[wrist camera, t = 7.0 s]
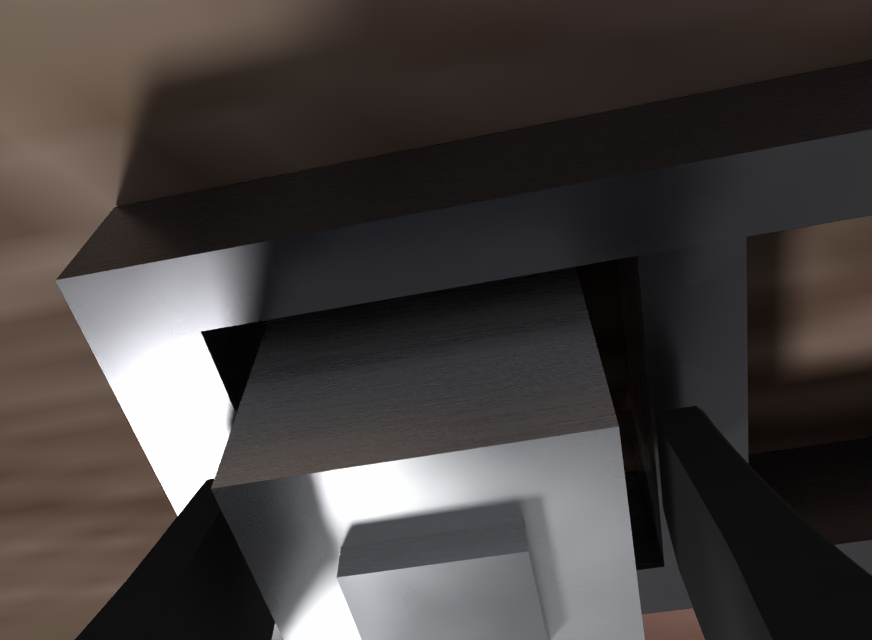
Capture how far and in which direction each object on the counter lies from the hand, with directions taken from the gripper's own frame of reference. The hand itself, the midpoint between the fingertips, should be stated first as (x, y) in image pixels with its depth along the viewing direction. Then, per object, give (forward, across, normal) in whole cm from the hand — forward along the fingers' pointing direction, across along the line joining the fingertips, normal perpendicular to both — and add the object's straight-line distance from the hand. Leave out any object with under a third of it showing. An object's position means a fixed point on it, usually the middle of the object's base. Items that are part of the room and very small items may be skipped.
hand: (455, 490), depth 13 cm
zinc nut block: (+3, 0, 0) cm, 3 cm away
